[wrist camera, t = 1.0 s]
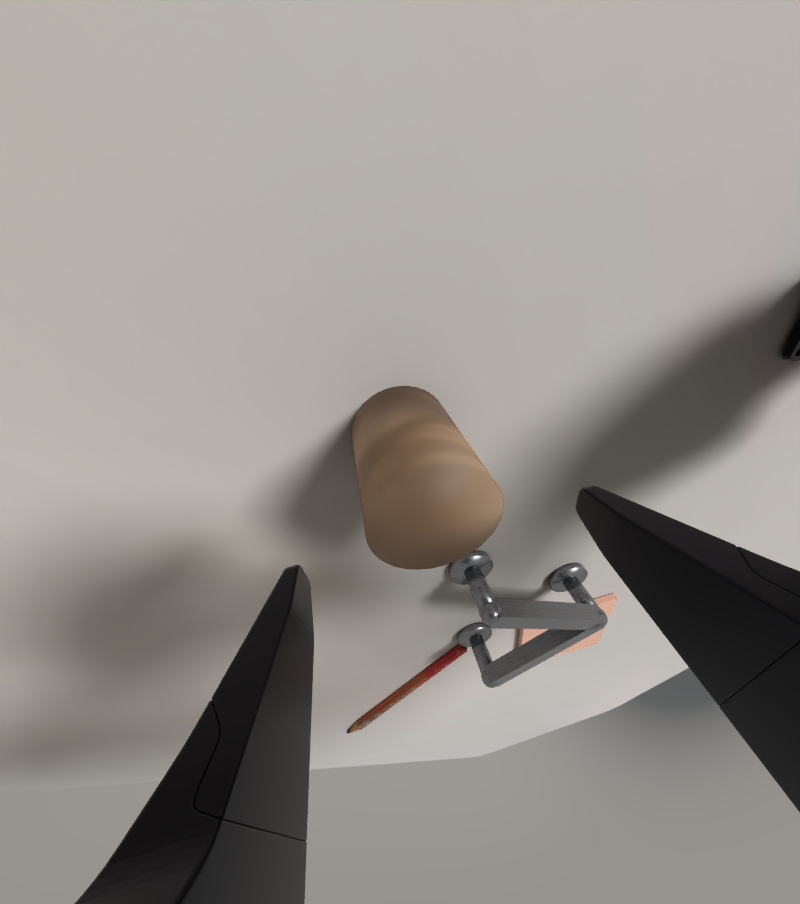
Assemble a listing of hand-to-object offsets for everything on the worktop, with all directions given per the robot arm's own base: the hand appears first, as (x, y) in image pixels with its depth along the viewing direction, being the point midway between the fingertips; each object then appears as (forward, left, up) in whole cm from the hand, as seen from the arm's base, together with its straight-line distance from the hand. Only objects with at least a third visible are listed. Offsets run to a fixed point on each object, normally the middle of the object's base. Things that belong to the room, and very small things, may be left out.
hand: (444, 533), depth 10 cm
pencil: (+5, +30, -7) cm, 31 cm away
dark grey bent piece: (-7, +17, -6) cm, 19 cm away
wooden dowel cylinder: (0, 0, -6) cm, 7 cm away
